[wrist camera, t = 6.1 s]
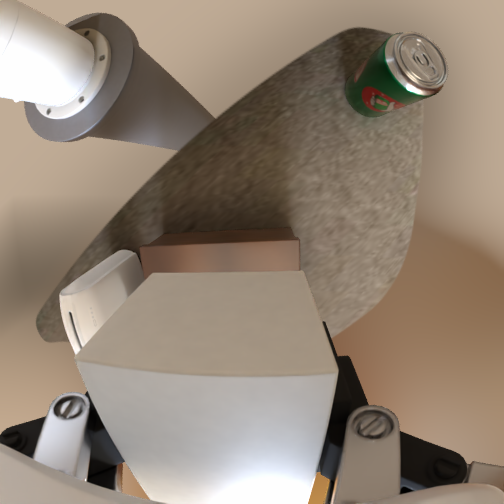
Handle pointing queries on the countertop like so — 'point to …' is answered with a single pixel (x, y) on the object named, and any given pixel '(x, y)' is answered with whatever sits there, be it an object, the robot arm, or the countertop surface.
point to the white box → (216, 386)
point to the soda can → (397, 75)
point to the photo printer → (98, 295)
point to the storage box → (222, 252)
